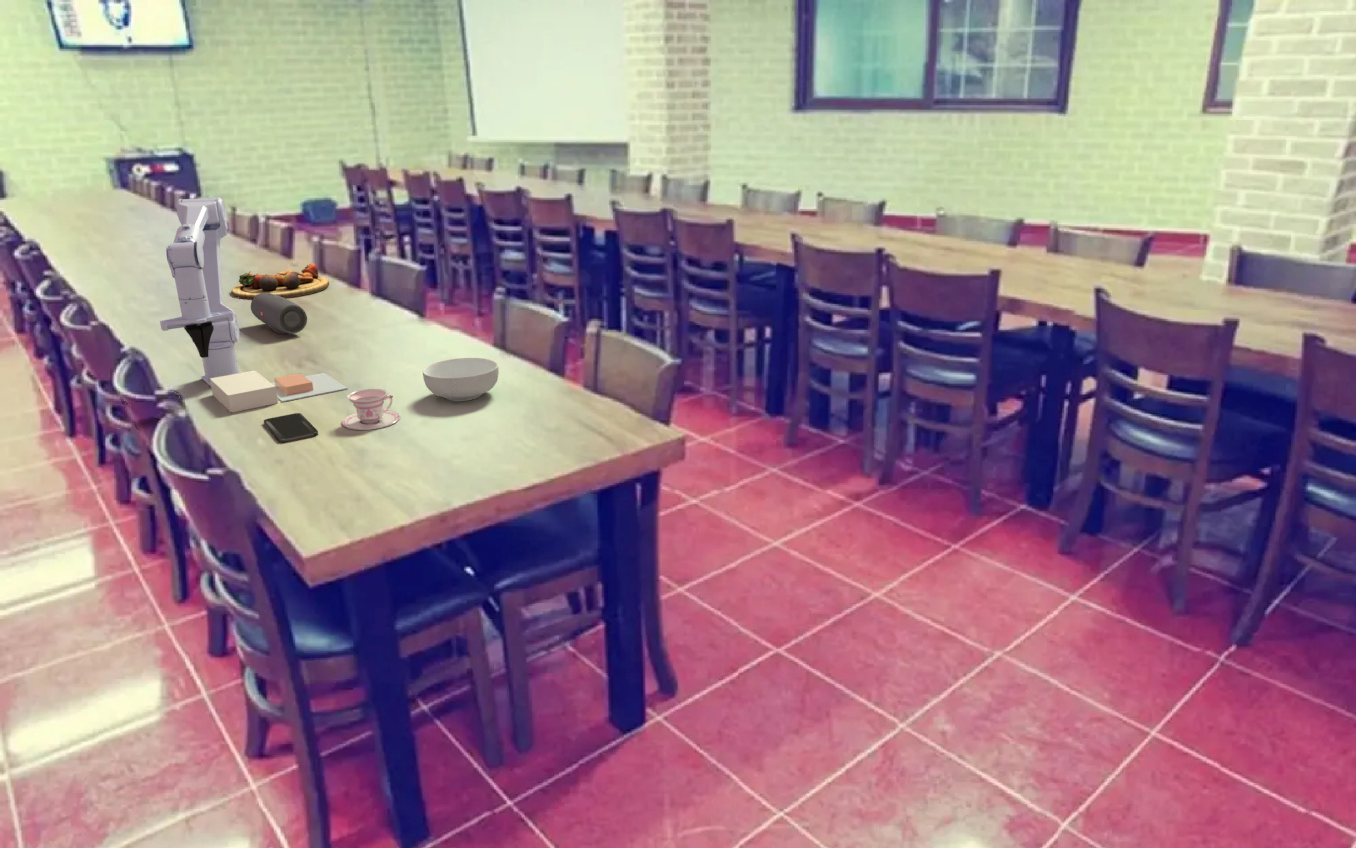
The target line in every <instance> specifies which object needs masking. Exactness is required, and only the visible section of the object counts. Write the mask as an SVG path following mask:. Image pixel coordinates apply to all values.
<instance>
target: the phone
mask: <svg viewBox="0 0 1356 848" xmlns="http://www.w3.org/2000/svg"><path fill="white" fill-rule="evenodd" d="M263 425H264V426H265V427H266V429H267V430H268V431H269V432H270V434H271V435H274V436H273V437H274V438H275V440H276V441H277V442H278V443H281V444H285V443H290V442H291V443H292V442H295V441H300V440H305V439H309V438H311V439H312V438H313V437H318V436H319V431H318V430H317V428H316V427H315V426H314V425H313V424H312V423H311V422H310V421H309V420H308V419H307V417H305V416H304V415H303V414H302V413H299V412H296V413H295V412H293V413H290V414H286V415H285V414H284V415H281V416H274V417H270V418H265V419H263Z"/></svg>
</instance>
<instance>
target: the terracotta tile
mask: <svg viewBox="0 0 1356 848" xmlns="http://www.w3.org/2000/svg"><path fill="white" fill-rule="evenodd" d="M273 380H274V382H275V386H276V387H277V388H278V389H280V390H281V391H282V392H284V393H285V394H286V395H292V394H297V393H302V392H307V391H312V390H313V384H312V382H311V381H310V380H308V379H307V378H306V377H304V375H303V374H302V373H295V374H290V375H284V376H279V377H274V378H273Z"/></svg>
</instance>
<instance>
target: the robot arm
mask: <svg viewBox="0 0 1356 848" xmlns="http://www.w3.org/2000/svg"><path fill="white" fill-rule="evenodd" d="M176 213H177V218H178V221H179V222H180V226H179V227H178V228H177V231H176V233H175V236H174V240H173V242H171V243H170V245H166V249H165V254H166V260H167V264H168V267H169V269H170V272H171V276H172V278H174V281H175V288H176V292H177V296H178V297H177V298H178V302H179V308H180V313H181V316H178V317H173V318H169V319H164V320H159V324H160V325H159V326H160V329H161V331H163V332H166V331H170V330H174V329H181V328H183V329H184V331H186V333H187V334H188V336H189V337H190V339H191V341H192V343H193V344H194V345H195V347H196V349H197V352H198V354H199V357H200V358H201V359H202V360H201V361H202V364H203V369H204V375H201V377H200V378H201V380H203V381H204V382H205V383H206V384H207V385H208V386H210V388H211V383H210V378H215V377H221V376H227V375H232V374H238V373H240V370H239V363H238V357H237V352H236V347H235V344H236V343H238V341H239V340H240V326H239V323H238V317H237V316H238V315H237V313H235V311H234V310H233V309H232V308H230V307H228V306H227V305H226V304H224V297H223V296H224V295H223V294H224V293H223V280H222V279H223V278H222V266H221V251H220V250H221V240H222V238H224V237H225V236H227V235H228V229H229V227H228V215H227V209H226V204H225V201H224V200H223V199H222V197H213V198H212V197H211V198H185V199H183V198H179V199H178V200H177V201H176Z"/></svg>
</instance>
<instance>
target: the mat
mask: <svg viewBox="0 0 1356 848" xmlns="http://www.w3.org/2000/svg"><path fill="white" fill-rule="evenodd" d="M303 376H304V375H303ZM304 377H306V378H307V379H308V380H310V381H311V382H312V384H313V390H312V391H307V392H302V393H297V394H292V395H286V394H285V393H284V392H282V391H281V390H280V389H278V388H277V387H276V386H275V381H271V383H272V384H273V385H274V386H275V388H276V394H277V400H278V401H280V402H281V403H285V402H286V401H287V402H291V401H296V400H301V399H305V398H310V397H315V396H321V395H325V394H326V395H327V394H331V393H336V392H340V391H345V390H348V389H349V388H348V387H347V386H345V385H344V384H343V383H341V382H339V381H338V380H336V379H335V378H333V377H332V376H330V375H329V374H327V373H326V372H321V373H316V374H315V373H314V374H311V375H310V374H309V375H305V376H304Z"/></svg>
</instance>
